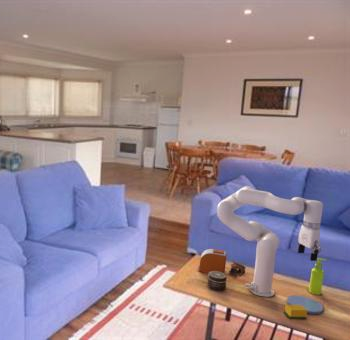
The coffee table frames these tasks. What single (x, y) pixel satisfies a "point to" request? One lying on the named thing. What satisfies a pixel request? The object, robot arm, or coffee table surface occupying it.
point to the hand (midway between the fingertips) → (307, 256)
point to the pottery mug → (236, 272)
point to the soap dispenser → (316, 278)
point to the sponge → (295, 311)
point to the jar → (217, 280)
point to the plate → (306, 304)
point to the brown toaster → (213, 261)
